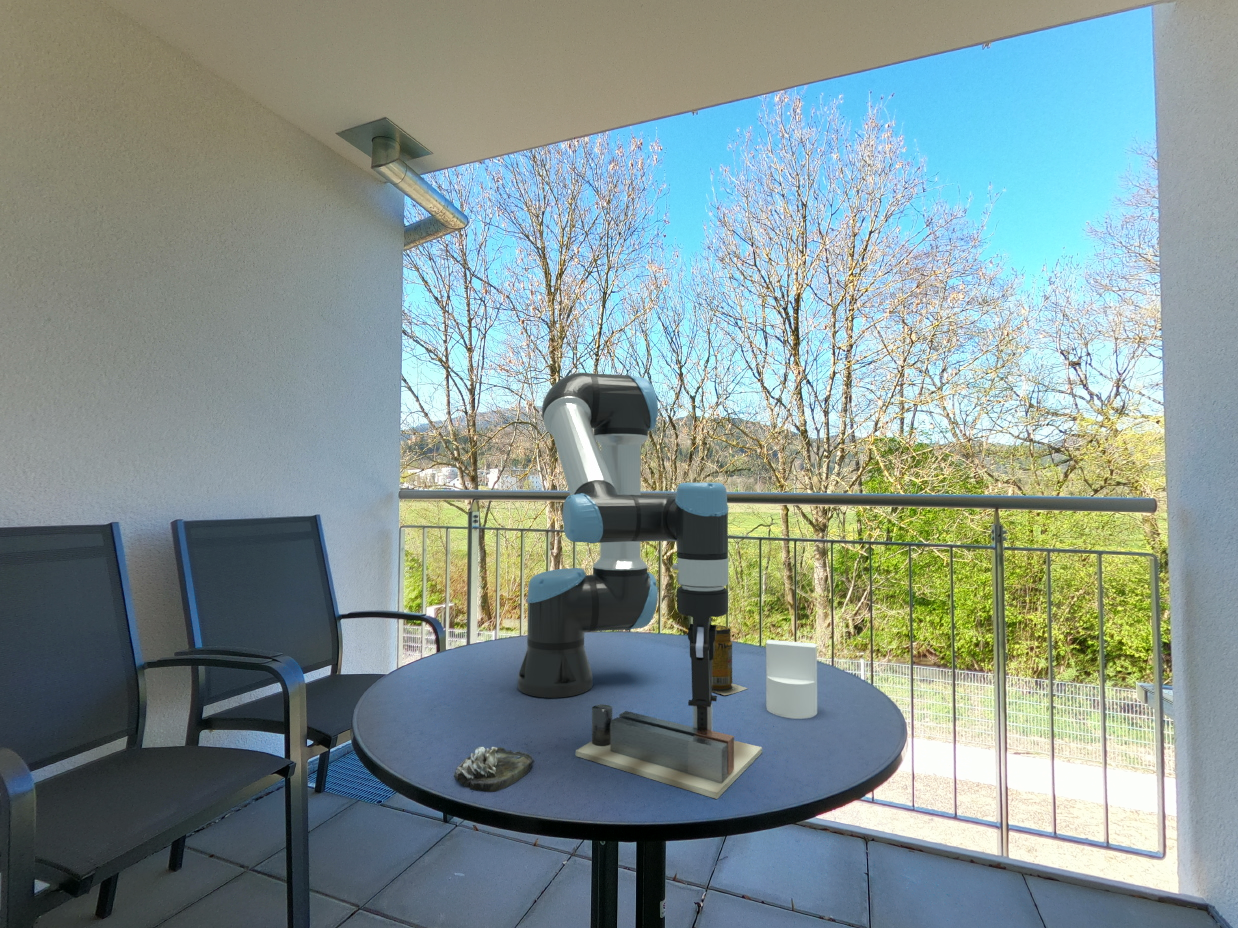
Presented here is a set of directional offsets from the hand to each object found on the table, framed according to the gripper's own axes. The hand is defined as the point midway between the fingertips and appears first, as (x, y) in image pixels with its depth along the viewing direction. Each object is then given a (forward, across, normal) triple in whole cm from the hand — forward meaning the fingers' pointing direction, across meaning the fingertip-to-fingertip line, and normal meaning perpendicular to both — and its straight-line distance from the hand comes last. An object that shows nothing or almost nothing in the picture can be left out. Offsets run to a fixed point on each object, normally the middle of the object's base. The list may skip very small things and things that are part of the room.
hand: (702, 748), depth 89 cm
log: (+3, +8, -29) cm, 30 cm away
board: (+2, -2, -5) cm, 6 cm away
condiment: (+3, -36, +1) cm, 36 cm away
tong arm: (+1, +1, -4) cm, 4 cm away
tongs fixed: (+1, +1, -7) cm, 7 cm away
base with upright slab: (+3, -26, +14) cm, 30 cm away
